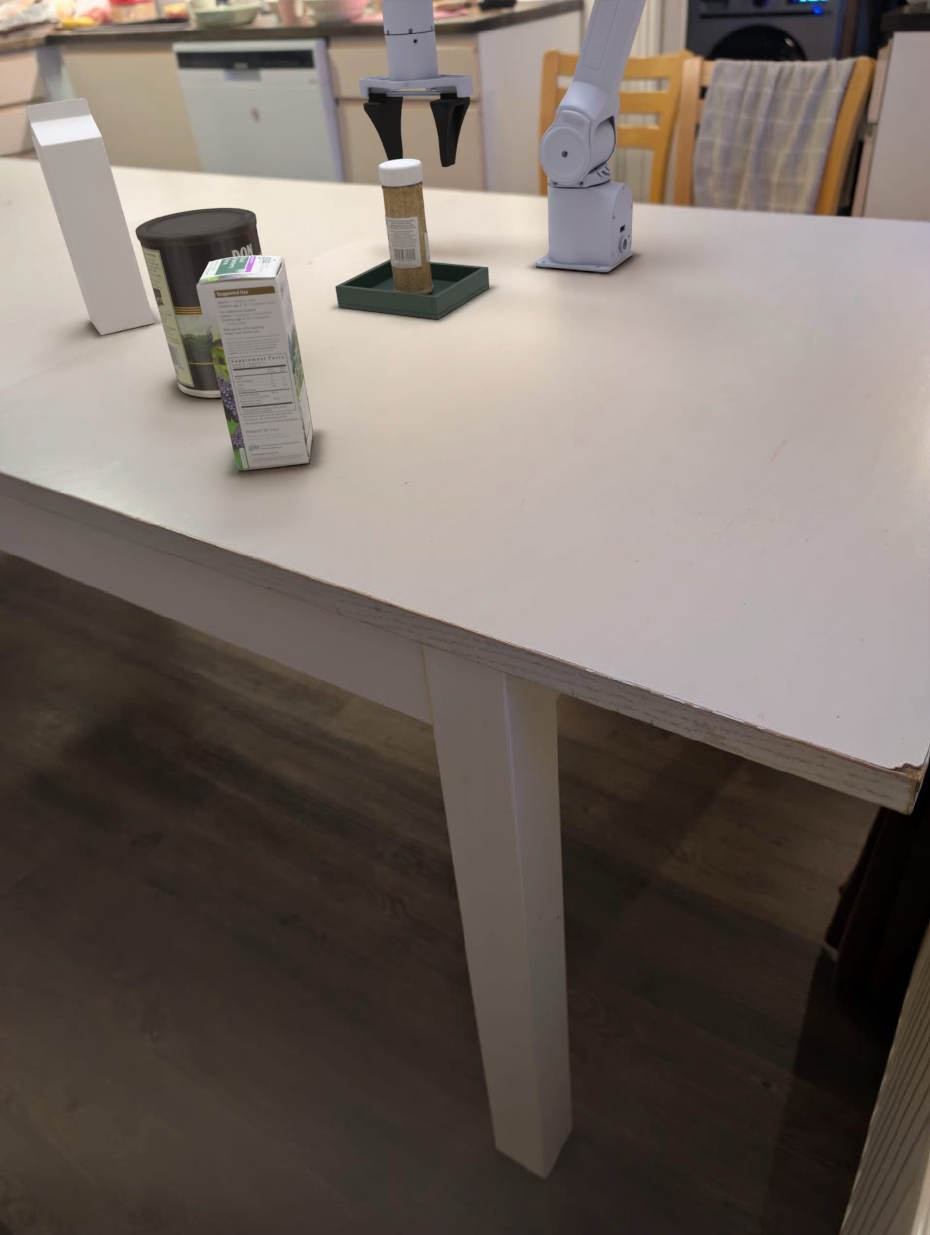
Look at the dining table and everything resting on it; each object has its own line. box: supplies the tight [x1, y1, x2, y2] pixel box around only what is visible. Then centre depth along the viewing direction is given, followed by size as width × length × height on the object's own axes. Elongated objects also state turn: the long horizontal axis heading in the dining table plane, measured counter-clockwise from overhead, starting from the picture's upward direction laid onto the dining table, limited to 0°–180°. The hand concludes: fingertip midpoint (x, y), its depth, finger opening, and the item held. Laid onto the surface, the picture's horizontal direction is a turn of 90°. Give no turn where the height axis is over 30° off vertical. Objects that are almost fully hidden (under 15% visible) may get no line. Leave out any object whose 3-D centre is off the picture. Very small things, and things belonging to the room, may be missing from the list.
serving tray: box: [334, 258, 490, 320], centre depth 102 cm, size 13×11×2 cm
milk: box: [25, 97, 155, 336], centre depth 96 cm, size 6×6×22 cm
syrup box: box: [196, 254, 314, 471], centre depth 68 cm, size 6×6×14 cm
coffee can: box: [134, 207, 263, 399], centre depth 83 cm, size 10×10×14 cm
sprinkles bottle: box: [377, 158, 433, 295], centre depth 98 cm, size 5×5×13 cm
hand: (421, 164), depth 110 cm, fingers open, 7 cm apart
